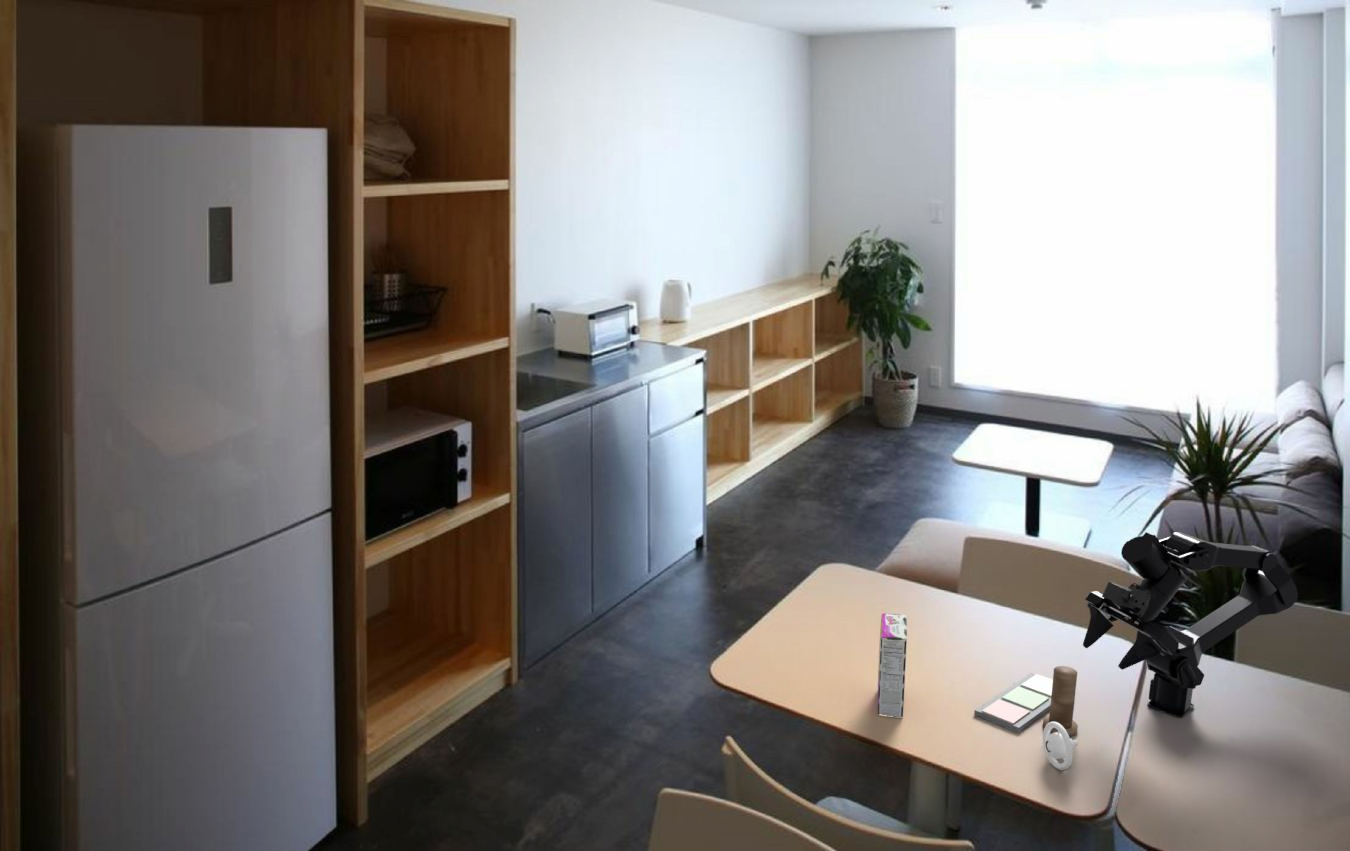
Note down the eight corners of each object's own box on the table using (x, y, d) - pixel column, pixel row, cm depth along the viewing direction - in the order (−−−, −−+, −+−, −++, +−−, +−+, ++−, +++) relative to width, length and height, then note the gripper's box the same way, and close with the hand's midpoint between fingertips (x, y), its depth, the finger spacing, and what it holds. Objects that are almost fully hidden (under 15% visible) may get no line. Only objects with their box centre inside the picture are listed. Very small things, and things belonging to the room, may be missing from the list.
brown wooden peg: (1082, 728, 193) (1089, 671, 190) (1067, 740, 189) (1074, 681, 186) (1052, 716, 197) (1057, 660, 194) (1036, 727, 193) (1042, 670, 190)
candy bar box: (876, 689, 207) (881, 611, 203) (902, 691, 206) (907, 614, 202) (876, 716, 196) (880, 635, 193) (903, 719, 195) (908, 638, 192)
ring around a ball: (1033, 755, 183) (1037, 713, 182) (1062, 751, 185) (1066, 710, 183) (1059, 780, 176) (1063, 737, 174) (1089, 776, 177) (1093, 733, 175)
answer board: (1073, 692, 206) (1074, 686, 206) (1018, 732, 191) (1019, 726, 191) (1030, 677, 212) (1031, 671, 212) (974, 714, 197) (974, 708, 197)
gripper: (1096, 550, 198) (1044, 613, 197) (1172, 585, 181) (1115, 655, 180) (1126, 582, 202) (1075, 645, 202) (1203, 620, 185) (1148, 688, 184)
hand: (1101, 657), depth 192 cm, fingers open, 9 cm apart
